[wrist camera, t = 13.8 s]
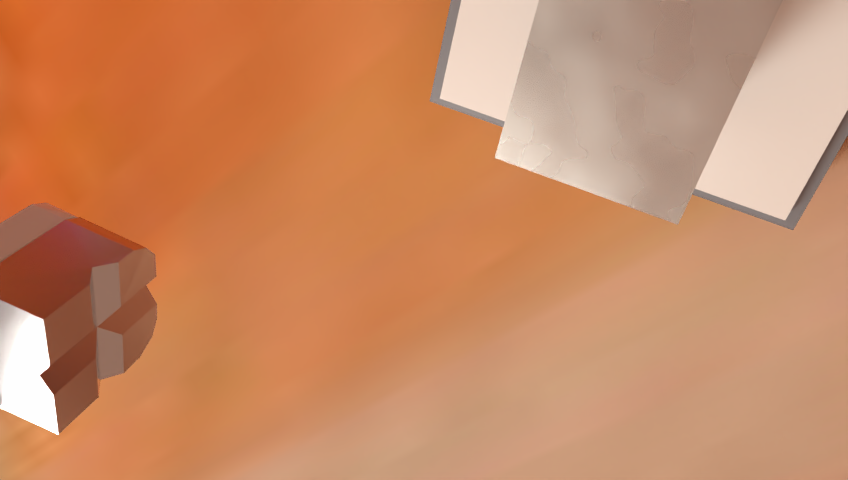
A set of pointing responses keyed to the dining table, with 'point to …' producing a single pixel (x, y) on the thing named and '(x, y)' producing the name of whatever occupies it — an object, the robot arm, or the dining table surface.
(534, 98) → the housing
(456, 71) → the stand
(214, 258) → the dining table surface
